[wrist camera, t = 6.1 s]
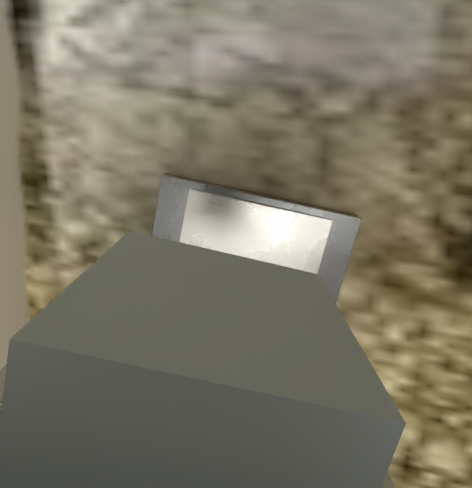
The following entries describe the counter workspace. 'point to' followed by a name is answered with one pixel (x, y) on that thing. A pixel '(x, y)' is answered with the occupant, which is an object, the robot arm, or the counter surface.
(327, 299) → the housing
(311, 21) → the counter surface
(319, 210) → the press
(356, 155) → the counter surface
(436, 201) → the counter surface
